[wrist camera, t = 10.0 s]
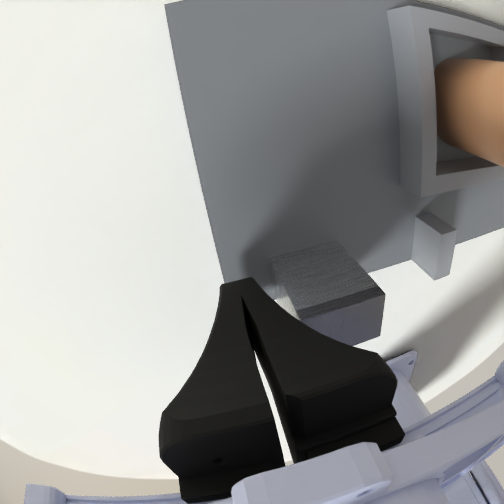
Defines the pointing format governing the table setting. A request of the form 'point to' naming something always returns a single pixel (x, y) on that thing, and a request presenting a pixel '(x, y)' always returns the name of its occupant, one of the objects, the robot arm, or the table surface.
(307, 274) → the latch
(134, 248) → the table surface
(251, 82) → the housing
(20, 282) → the table surface
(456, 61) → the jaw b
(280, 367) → the robot arm
